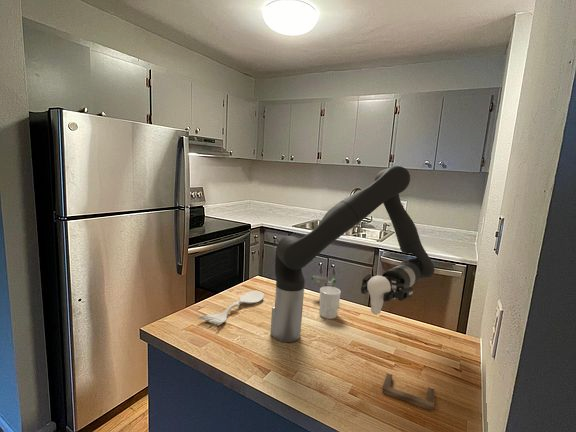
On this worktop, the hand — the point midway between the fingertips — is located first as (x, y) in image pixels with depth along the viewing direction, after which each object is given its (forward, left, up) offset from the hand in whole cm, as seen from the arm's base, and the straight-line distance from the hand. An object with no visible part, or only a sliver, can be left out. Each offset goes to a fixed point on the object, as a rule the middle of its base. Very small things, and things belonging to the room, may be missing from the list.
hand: (373, 294), depth 82 cm
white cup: (-20, +28, -24) cm, 42 cm away
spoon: (-52, +12, -24) cm, 58 cm away
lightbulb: (+1, +2, -7) cm, 7 cm away
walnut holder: (+12, -1, -24) cm, 26 cm away
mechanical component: (-27, +40, -24) cm, 54 cm away
